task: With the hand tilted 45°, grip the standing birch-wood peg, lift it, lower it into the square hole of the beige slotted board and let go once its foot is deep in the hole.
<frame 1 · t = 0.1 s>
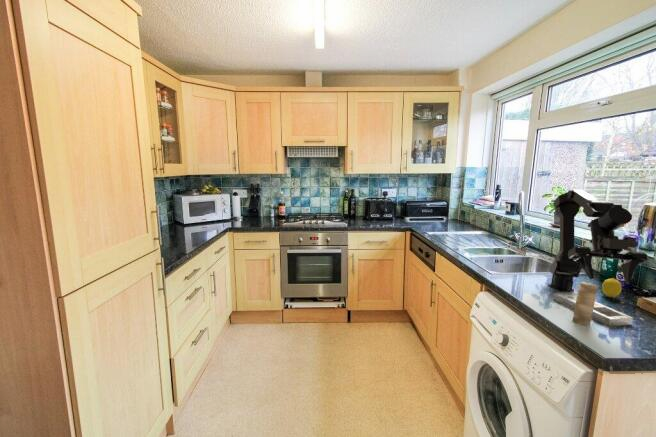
hand: (609, 281, 93), 15 cm above the countertop, tool tilted 35°, fingers open, 9 cm apart
peg: (581, 322, 97), on the countertop
lemon: (609, 297, 117), on the countertop
beige slotted board: (588, 311, 105), on the countertop
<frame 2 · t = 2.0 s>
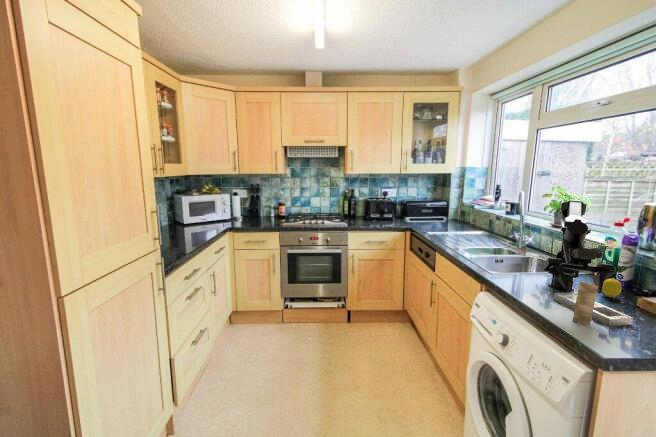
hand: (582, 290, 98), 10 cm above the countertop, tool tilted 45°, fingers open, 9 cm apart
nothing on the countertop moved.
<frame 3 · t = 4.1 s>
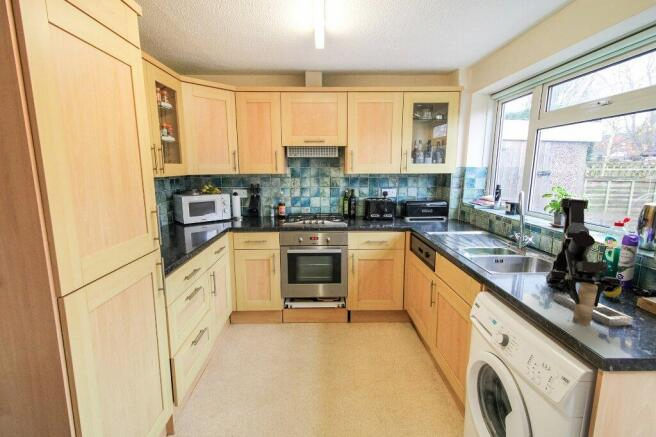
hand: (587, 305, 94), 7 cm above the countertop, tool tilted 45°, fingers closed on peg, 4 cm apart
peg: (581, 322, 97), on the countertop, touching gripper
everything else where it was.
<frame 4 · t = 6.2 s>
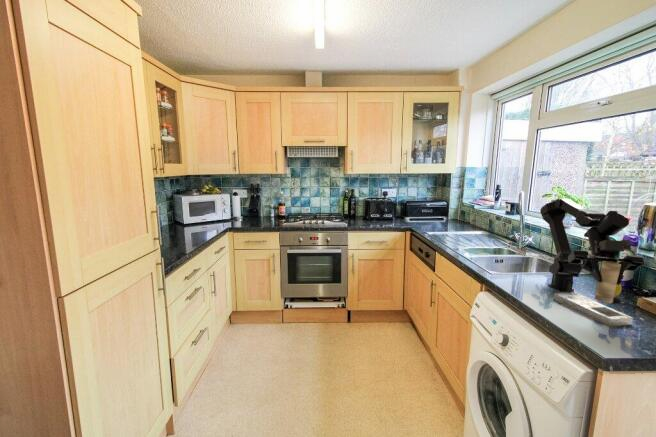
hand: (609, 283, 96), 13 cm above the countertop, tool tilted 45°, fingers closed on peg, 4 cm apart
peg: (603, 300, 98), point 7 cm above the countertop, touching gripper
everything else where it was.
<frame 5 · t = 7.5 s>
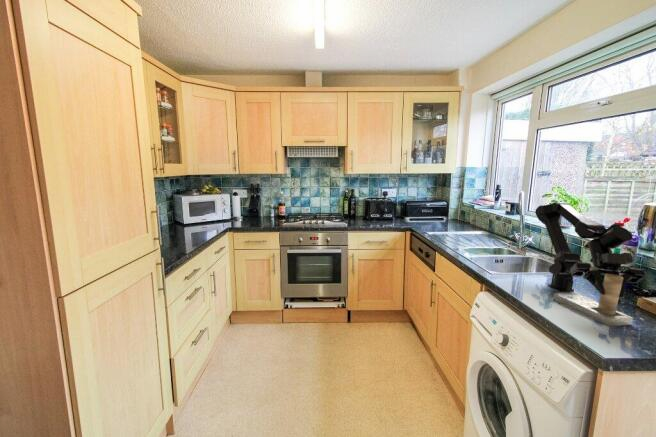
hand: (612, 295, 97), 9 cm above the countertop, tool tilted 45°, fingers closed on peg, 4 cm apart
peg: (606, 312, 99), point 2 cm above the countertop, touching gripper
everything else where it was.
when the fingers open (7 cm above the countertop, at t = 8.6 s): peg stays where it is, resting in beige slotted board.
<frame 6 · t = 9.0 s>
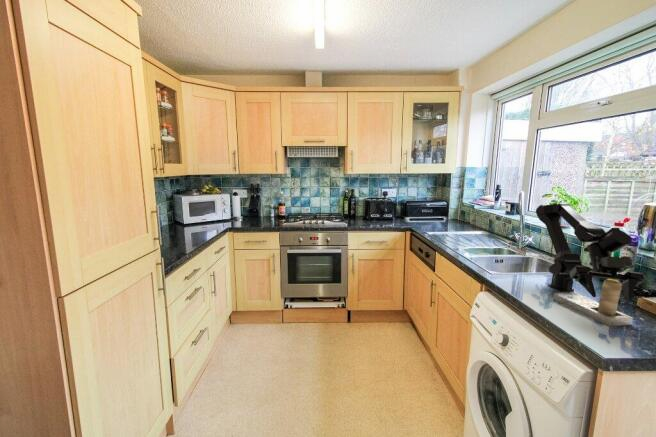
hand: (611, 299, 97), 8 cm above the countertop, tool tilted 45°, fingers open, 9 cm apart
peg: (605, 318, 100), resting in beige slotted board
everything else where it was.
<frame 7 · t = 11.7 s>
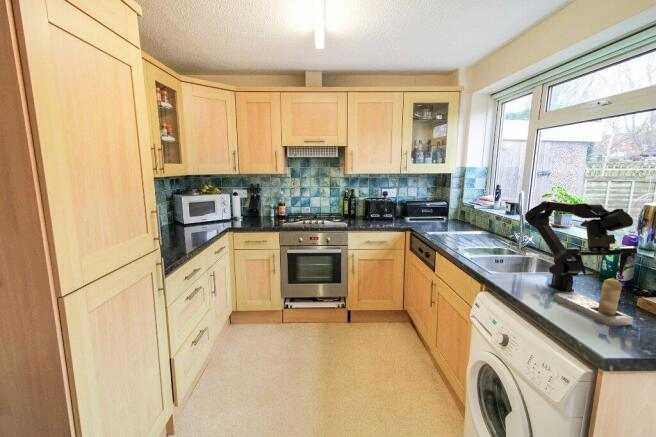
hand: (602, 276, 104), 13 cm above the countertop, tool tilted 35°, fingers open, 9 cm apart
nothing on the countertop moved.
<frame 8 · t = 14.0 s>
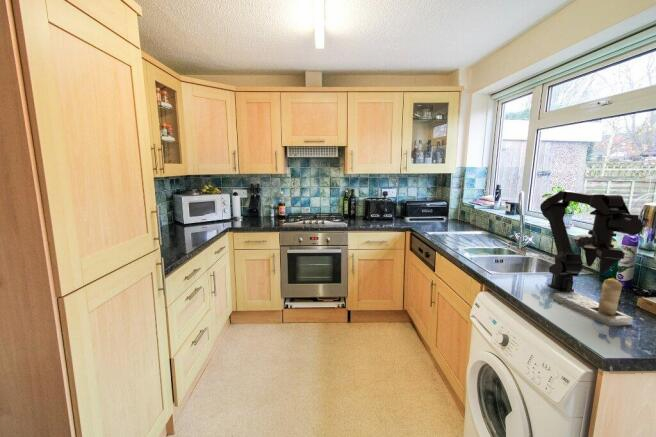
hand: (594, 269, 109), 13 cm above the countertop, tool pointing down, fingers open, 9 cm apart
nothing on the countertop moved.
at the end: peg 0.0 cm from the target spot on the beige slotted board, point 0.0 cm above the beige slotted board's base; peg tilted 1°; the gripper is holding nothing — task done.
